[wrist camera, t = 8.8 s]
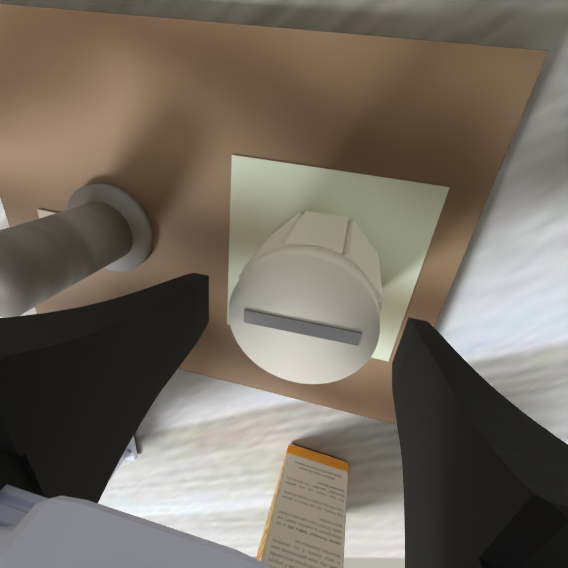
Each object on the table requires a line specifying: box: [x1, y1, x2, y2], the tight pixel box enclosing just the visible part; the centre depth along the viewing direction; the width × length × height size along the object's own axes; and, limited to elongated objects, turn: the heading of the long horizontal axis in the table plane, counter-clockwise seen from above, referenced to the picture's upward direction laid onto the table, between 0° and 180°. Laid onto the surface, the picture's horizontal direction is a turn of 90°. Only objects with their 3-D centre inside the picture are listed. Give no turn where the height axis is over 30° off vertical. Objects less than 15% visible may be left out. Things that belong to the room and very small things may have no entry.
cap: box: [229, 211, 383, 384], centre depth 13 cm, size 5×5×5 cm
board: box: [0, 4, 548, 424], centre depth 14 cm, size 18×24×8 cm
